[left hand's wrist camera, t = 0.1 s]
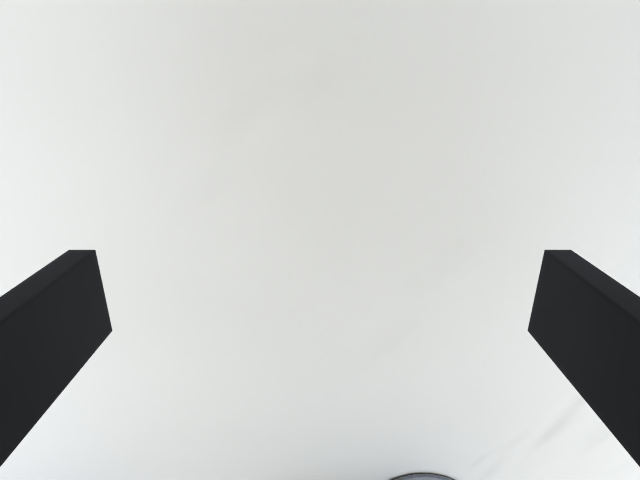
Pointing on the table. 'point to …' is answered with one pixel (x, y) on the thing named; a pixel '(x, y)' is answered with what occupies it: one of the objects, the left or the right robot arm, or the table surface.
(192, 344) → the table surface
